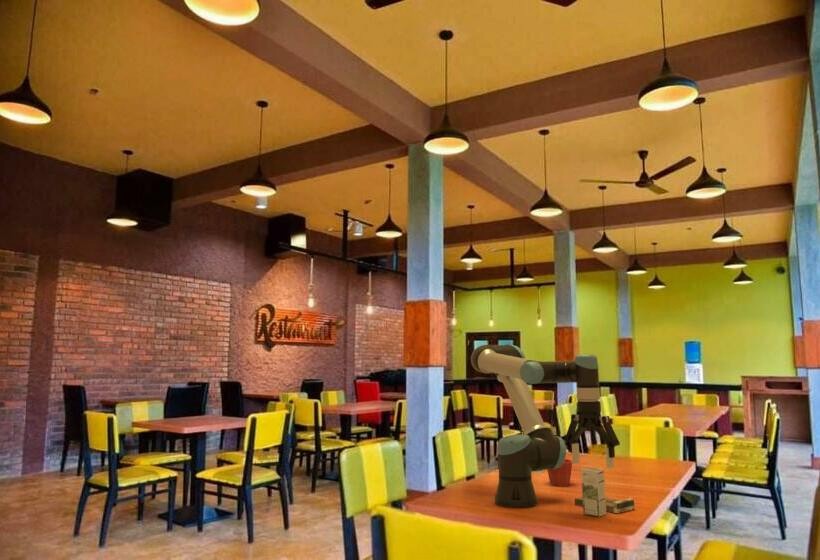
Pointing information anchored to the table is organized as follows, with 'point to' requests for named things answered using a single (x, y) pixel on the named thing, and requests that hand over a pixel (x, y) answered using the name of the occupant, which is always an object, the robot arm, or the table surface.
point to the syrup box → (593, 491)
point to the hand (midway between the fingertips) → (592, 465)
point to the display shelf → (613, 504)
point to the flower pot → (561, 474)
